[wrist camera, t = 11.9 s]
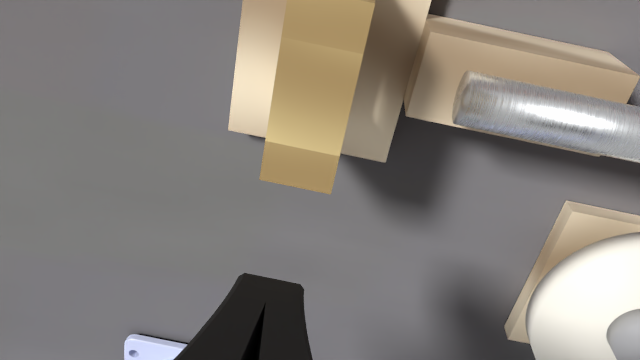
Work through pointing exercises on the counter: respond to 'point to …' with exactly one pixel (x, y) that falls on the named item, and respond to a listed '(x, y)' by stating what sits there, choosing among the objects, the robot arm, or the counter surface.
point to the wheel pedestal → (568, 250)
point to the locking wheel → (589, 304)
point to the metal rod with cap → (548, 115)
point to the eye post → (380, 77)
